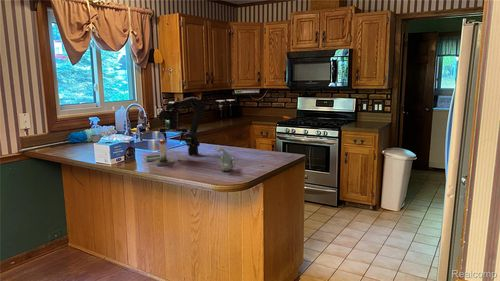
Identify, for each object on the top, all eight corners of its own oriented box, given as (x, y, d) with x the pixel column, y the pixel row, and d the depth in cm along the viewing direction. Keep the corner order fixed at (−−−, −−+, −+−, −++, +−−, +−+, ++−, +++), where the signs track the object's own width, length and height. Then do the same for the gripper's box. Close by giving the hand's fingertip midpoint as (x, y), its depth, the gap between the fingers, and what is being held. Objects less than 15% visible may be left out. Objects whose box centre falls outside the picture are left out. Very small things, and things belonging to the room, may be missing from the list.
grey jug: (217, 167, 228) (216, 143, 226) (234, 167, 229) (233, 143, 227) (217, 174, 212) (216, 149, 209) (235, 173, 213) (234, 148, 210)
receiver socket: (169, 161, 245) (169, 158, 245) (172, 164, 237) (172, 161, 237) (155, 163, 242) (154, 160, 241) (157, 166, 233) (157, 163, 233)
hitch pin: (167, 162, 243) (165, 138, 240) (169, 164, 238) (167, 140, 235) (158, 163, 241) (157, 139, 238) (160, 165, 236) (158, 141, 233)
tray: (163, 156, 261) (163, 154, 261) (166, 159, 252) (166, 157, 252) (144, 158, 255) (144, 156, 255) (147, 161, 246) (147, 159, 246)
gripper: (185, 119, 260) (184, 140, 262) (158, 119, 254) (158, 141, 256) (187, 120, 250) (187, 143, 252) (159, 120, 244) (159, 143, 246)
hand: (173, 142), depth 252 cm, fingers open, 9 cm apart
